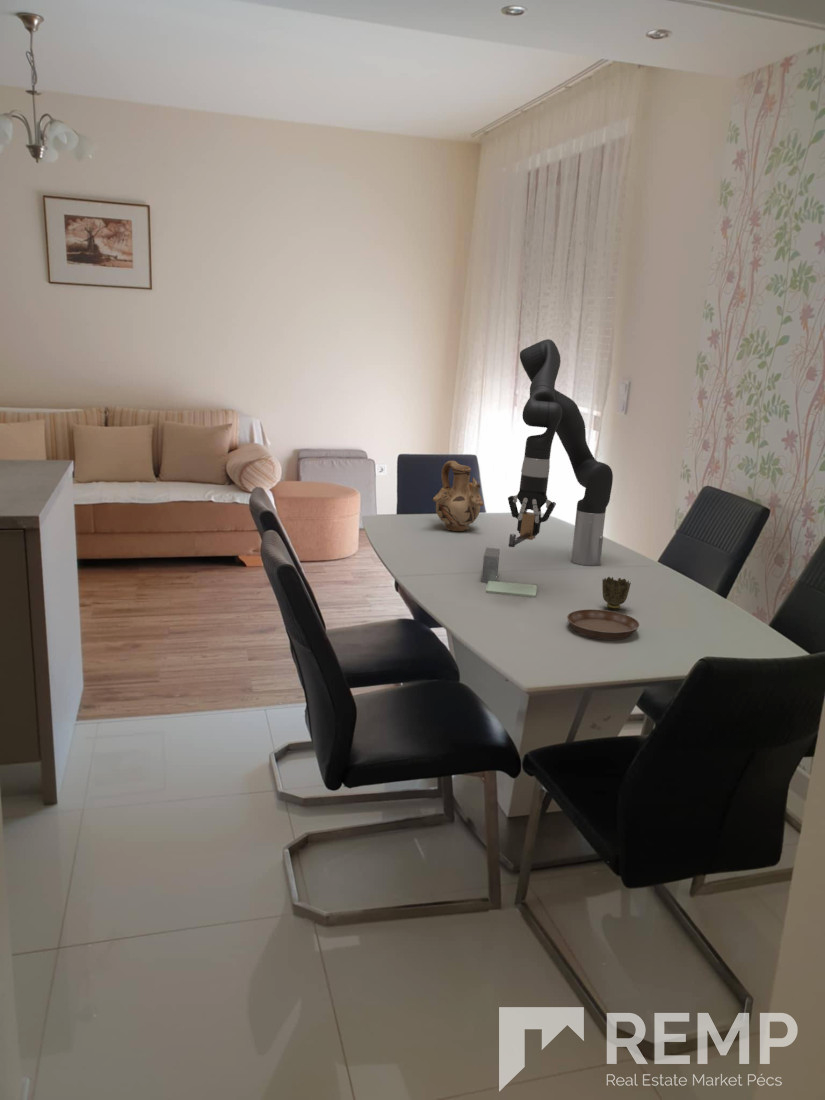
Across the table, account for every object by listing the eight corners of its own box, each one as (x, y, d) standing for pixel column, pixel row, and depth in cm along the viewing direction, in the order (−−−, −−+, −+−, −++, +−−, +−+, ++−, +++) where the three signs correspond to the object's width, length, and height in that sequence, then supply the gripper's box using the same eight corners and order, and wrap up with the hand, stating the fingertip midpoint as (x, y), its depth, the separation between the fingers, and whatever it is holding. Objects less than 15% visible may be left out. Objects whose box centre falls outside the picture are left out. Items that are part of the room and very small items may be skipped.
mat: (536, 587, 243) (536, 585, 243) (535, 597, 233) (535, 595, 233) (488, 582, 245) (488, 580, 245) (485, 592, 235) (485, 590, 235)
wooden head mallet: (523, 536, 238) (526, 511, 237) (535, 538, 237) (538, 513, 236) (504, 545, 223) (507, 520, 221) (516, 548, 222) (520, 522, 220)
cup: (627, 606, 230) (631, 578, 228) (626, 614, 223) (630, 585, 221) (600, 603, 232) (603, 575, 230) (598, 610, 225) (601, 582, 223)
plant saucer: (551, 628, 210) (553, 616, 209) (591, 615, 222) (593, 604, 221) (612, 649, 198) (614, 637, 197) (651, 634, 210) (652, 622, 209)
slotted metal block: (497, 574, 254) (499, 548, 252) (495, 583, 244) (497, 556, 242) (484, 573, 255) (486, 547, 253) (481, 582, 245) (483, 555, 243)
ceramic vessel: (430, 533, 302) (435, 464, 296) (432, 521, 321) (436, 456, 314) (480, 536, 302) (486, 467, 295) (479, 525, 320) (485, 460, 314)
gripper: (563, 476, 233) (555, 536, 237) (514, 469, 238) (507, 528, 242) (556, 478, 226) (548, 540, 230) (506, 471, 231) (499, 532, 235)
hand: (527, 534), depth 236 cm, fingers closed on wooden head mallet, 3 cm apart
